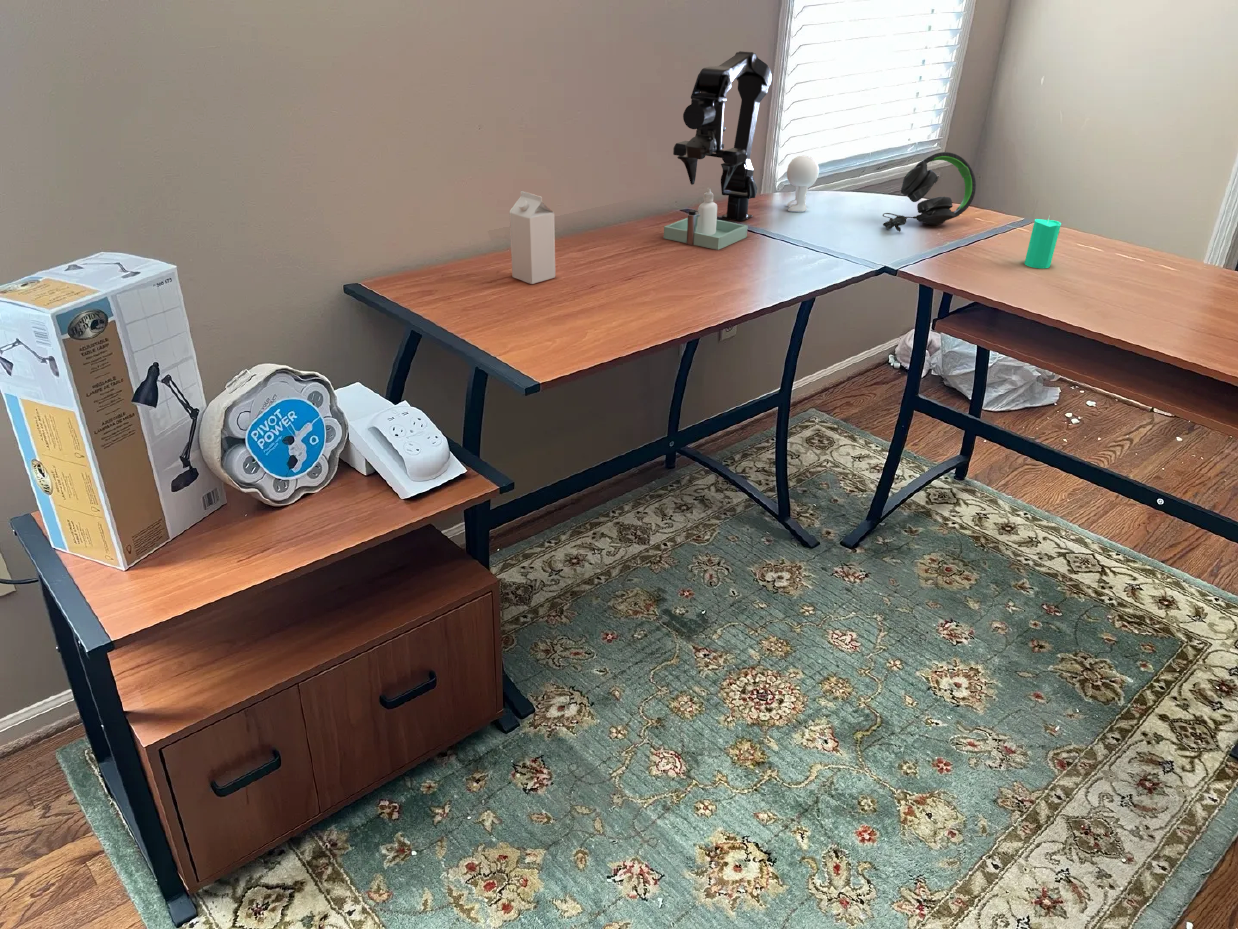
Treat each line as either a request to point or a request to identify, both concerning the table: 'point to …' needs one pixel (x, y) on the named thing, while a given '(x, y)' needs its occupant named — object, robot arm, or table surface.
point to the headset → (921, 183)
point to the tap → (691, 226)
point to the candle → (1042, 243)
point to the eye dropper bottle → (707, 215)
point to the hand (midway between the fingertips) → (707, 186)
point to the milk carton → (532, 239)
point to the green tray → (722, 237)
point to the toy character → (801, 180)
